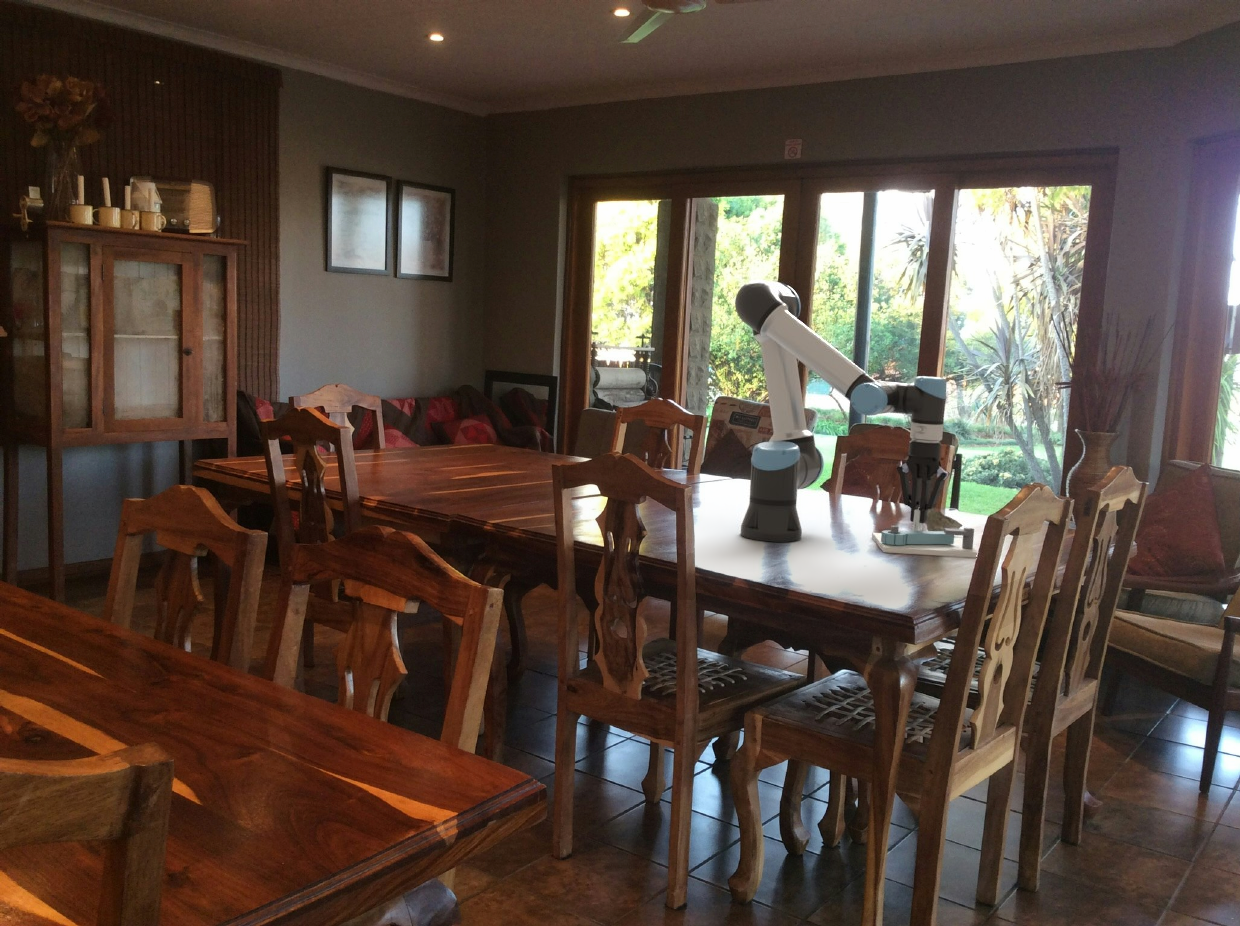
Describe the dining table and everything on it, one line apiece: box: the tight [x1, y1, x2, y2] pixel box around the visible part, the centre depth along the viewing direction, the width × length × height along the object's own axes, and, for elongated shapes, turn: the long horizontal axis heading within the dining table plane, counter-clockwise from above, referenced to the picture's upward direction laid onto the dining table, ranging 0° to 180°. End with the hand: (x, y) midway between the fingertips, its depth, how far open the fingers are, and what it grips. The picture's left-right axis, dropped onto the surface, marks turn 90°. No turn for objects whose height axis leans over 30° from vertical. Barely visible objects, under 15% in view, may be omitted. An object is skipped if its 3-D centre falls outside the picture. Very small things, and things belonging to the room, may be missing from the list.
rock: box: [924, 507, 963, 531], centre depth 278 cm, size 11×6×10 cm
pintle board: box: [871, 525, 979, 559], centre depth 262 cm, size 22×19×6 cm
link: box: [881, 529, 955, 545], centre depth 260 cm, size 18×6×2 cm, turn 103°
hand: (916, 535), depth 263 cm, fingers closed
